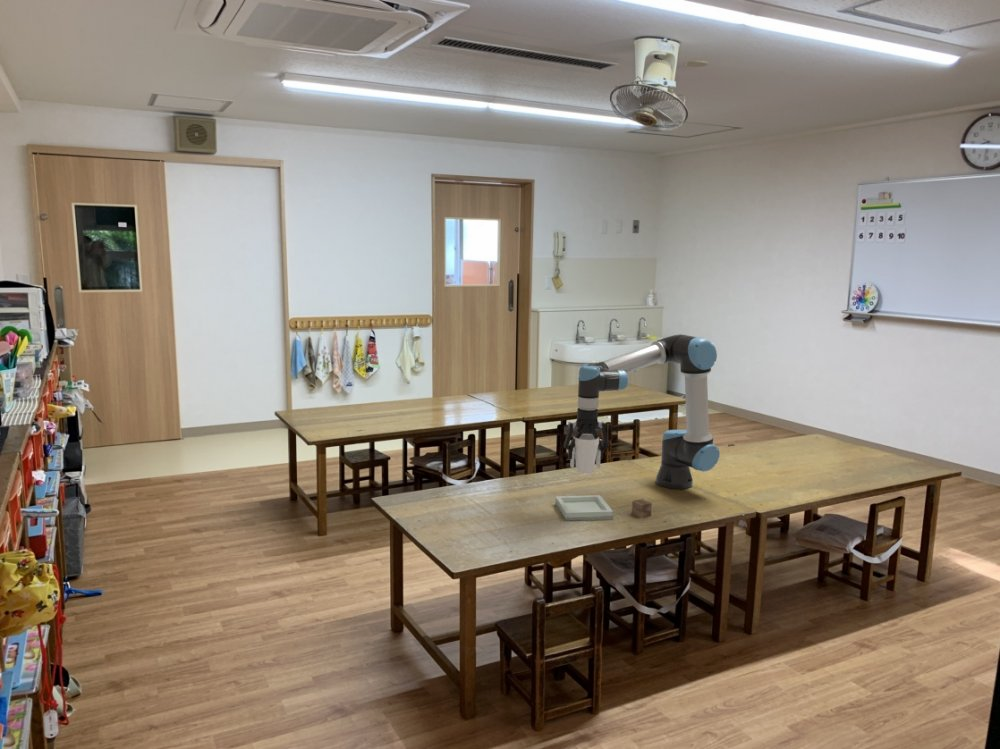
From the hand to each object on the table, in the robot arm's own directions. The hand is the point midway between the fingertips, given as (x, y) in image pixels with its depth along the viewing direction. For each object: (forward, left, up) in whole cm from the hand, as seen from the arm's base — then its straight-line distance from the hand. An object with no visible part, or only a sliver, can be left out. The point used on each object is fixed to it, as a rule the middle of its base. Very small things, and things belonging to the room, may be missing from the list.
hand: (585, 466), depth 276 cm
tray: (0, 0, -17) cm, 17 cm away
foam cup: (0, 0, -2) cm, 2 cm away
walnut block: (-21, +5, -18) cm, 28 cm away
